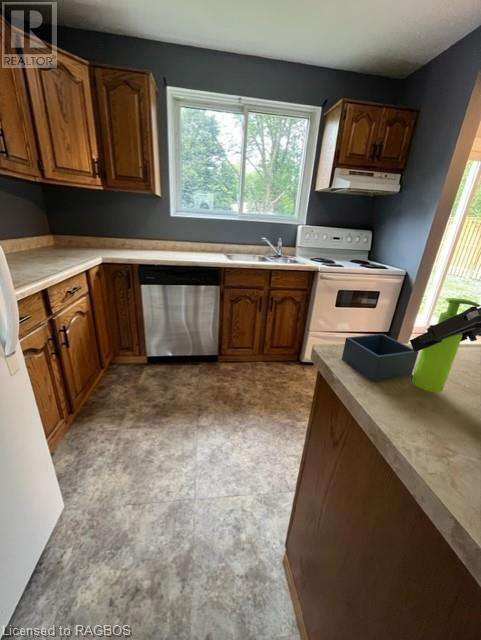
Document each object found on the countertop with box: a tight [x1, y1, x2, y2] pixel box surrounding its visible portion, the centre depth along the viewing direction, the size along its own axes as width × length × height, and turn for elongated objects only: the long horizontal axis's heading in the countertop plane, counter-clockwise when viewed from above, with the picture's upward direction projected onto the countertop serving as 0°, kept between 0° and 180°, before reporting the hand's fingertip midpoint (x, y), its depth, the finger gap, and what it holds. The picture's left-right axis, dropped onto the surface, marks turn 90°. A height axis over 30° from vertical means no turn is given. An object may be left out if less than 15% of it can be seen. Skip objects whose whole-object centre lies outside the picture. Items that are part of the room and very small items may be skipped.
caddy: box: [341, 333, 420, 382], centre depth 71 cm, size 13×12×7 cm
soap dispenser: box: [411, 297, 481, 393], centre depth 57 cm, size 6×7×20 cm
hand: (425, 344), depth 61 cm, fingers closed on soap dispenser, 6 cm apart
